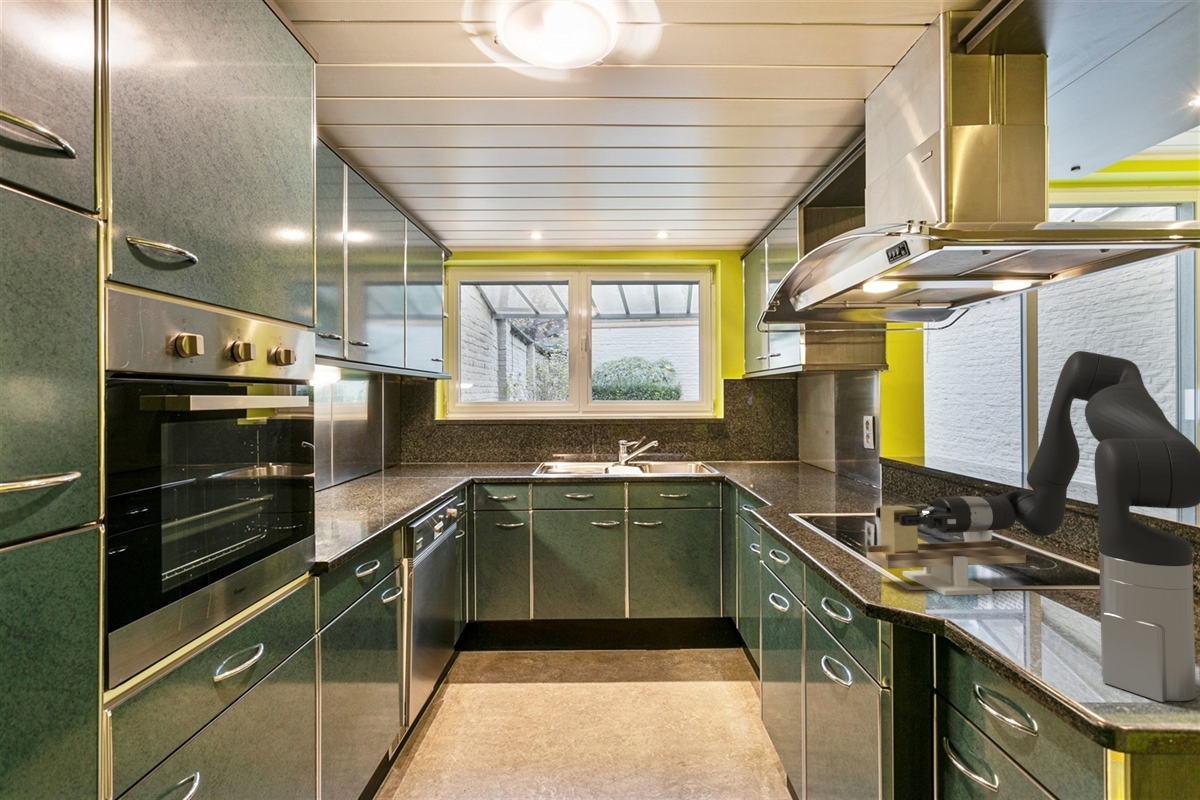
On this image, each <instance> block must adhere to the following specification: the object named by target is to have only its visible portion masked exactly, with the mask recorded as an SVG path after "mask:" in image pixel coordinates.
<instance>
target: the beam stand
mask: <svg viewBox="0 0 1200 800" xmlns="http://www.w3.org/2000/svg"><path fill="white" fill-rule="evenodd" d="M922 568H923V569H922V570H918V569H917V570H902V576H903V577H905V578H907V579H909V580H911V581H913V582H916V583H917V584H920V585H921V586H923V587H926V588H928V589H930V590H933V591H934V592H936V593H939V594H940V595H943V596H946V597H947V596H949V597H950V596H972V595H974V596H975V595H976V596H977V595H992V594H993V588H991V587H989V586H986V585H984V584H982V583H979V582H976V581H974V580H972V579H969V565H968V557H965V556H953V566H940V567H922Z"/></svg>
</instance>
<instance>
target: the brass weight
mask: <svg viewBox="0 0 1200 800" xmlns="http://www.w3.org/2000/svg"><path fill="white" fill-rule="evenodd" d="M879 507H880V517H881V518H880V545H881V553H883V554H900V553H918V544H919V540H918V537H919V536H918V526H902V525H900V524H899V516H900V515H902V514H917V509H914V508H911V507H907V506H903V505H895V506H890V505H880V506H879Z"/></svg>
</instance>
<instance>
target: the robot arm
mask: <svg viewBox="0 0 1200 800" xmlns="http://www.w3.org/2000/svg"><path fill="white" fill-rule="evenodd" d="M1064 362H1065V363H1064V365H1063V366H1062V369H1061V372H1060V374H1059V376H1058V380H1057V383H1056V386H1055V390H1054V393H1053V396H1052V400H1051V404H1050V407H1049V411H1048V414H1047V417H1046V422H1045V427H1044V430H1043V432H1042V433H1043V434H1042V437H1041V441H1040V444H1039V447H1038V450H1037V451H1036V454H1035V455H1034V458H1033V461H1032V463H1031V465H1030V468H1029V470H1028V472H1027V476H1026V482H1027V484H1028V485H1029V487H1031V489H1032V490H1029V489H1015V490H1012V491H1008V492H1006V493H1005V492H1004V493H1002V494H999V495H996V496H973V497H970V496H971V495H970V496H969V495H968V496H938V497H936V498H934V499H933V500H932V501H931V502H930V505H929V506H928V504H921V503H919V504H918V505H917V504H916V503H912V504H911V503H910V504H909V503H907V504H905V503H904V504H903V503H901V504H898V503H897V504H894V503H891V504H889V506H895V505H903V506H907V507H911V508H914V509H917V514H902V515H900V516H899V524H900V525H902V526H917V527H921V528H928V529H930V530H932V529H936V530H937V531H938V532H940V533H943V534H952V533H953V534H955V533H956V534H957V533H963V532H978V531H985V530H993V531H1004V530H1008V529H1010V528H1012V526H1014V524H1015V523H1016V522H1017V523H1018V524H1019V525H1021V526H1022V527H1023V528H1024V529H1025V530H1027V531H1028V532H1029V533H1030V534H1033V535H1034V536H1036V537H1037V536H1038V537H1047V536H1050V535H1052V534H1054V533H1056V532H1057V531H1058V530H1059V529H1060V527H1061V526H1062V524H1063V522H1064V519H1065V515H1066V503H1067V493H1068V487H1069V485H1070V483H1071V481H1072V479H1073V478H1074V477H1073V476H1074V474H1075V472H1076V470H1077V468H1078V466H1079V463H1080V447H1079V443H1078V440H1077V437H1076V435H1075V431H1074V428H1073V425H1072V419H1071V408H1072V405H1073V404H1072V403H1073V402H1074V400H1075V399H1076V400H1081V401H1086V402H1087V403H1086V405H1085V409H1084V417H1085V421H1086V423H1087V426H1088V428H1089V431H1090V433H1091V435H1092V436H1093V437H1094V439H1095V440H1096V441H1097V442H1098V445H1097V446H1096V448H1095V451H1094V452H1095V453H1094V465H1093V466H1094V476H1095V477H1094V478H1095V488H1096V495H1097V496H1096V498H1097V499H1096V500H1097V510H1098V547H1099V548H1098V549H1099V553H1098V554H1099V555H1098V556H1099V559H1098V561H1099V596H1100V598H1099V603H1100V605H1099V606H1100V610H1099V611H1100V647H1101V650H1100V652H1101V675H1102V681H1103V682H1102V683H1104V684H1108V685H1110V686H1114V687H1115V688H1119V689H1122V690H1125V691H1128V692H1131V693H1133V694H1136V695H1139V696H1143V697H1146V698H1148V699H1152V700H1154V701H1158V702H1160V703H1164V702H1166V701H1174V702H1187V701H1191V700H1194V699H1196V695H1197V685H1196V684H1197V683H1196V677H1197V676H1196V651H1195V650H1196V649H1195V647H1196V646H1195V619H1194V618H1195V617H1194V615H1195V614H1194V613H1195V612H1194V609H1195V608H1194V574H1193V573H1194V571H1193V569H1194V568H1193V566H1194V564H1193V561H1194V559H1193V547H1192V545H1191V543H1190V541H1188V540H1187V539H1186V538H1184V537H1182V536H1179V535H1175V534H1174V533H1169V532H1166V531H1164V530H1160V529H1158V528H1155V527H1152V526H1150V525H1148V524H1145V523H1144V522H1143V521H1140V520H1138V519H1136V518H1135V517H1134V516H1133V515H1132V513H1131V511H1130V507H1139V508H1154V509H1155V508H1158V509H1172V510H1173V509H1175V510H1176V509H1177V510H1178V509H1189V508H1193V507H1196V506H1199V505H1200V449H1198V448H1197V446H1196V445H1195V443H1193V441H1191V439H1189V438H1188V437H1187V436H1185V435H1184V434H1183V432H1181V431H1180V430H1179V429H1178V428H1176V427H1174V426H1173V425H1172V423H1171V422H1170V421H1169V420H1168V418H1167V417H1166V415H1165V413H1164V412H1163V410H1162V408H1161V407H1160V406H1159V404H1158V403H1157V401H1156V400H1155V399H1154V398H1153V397H1152V396H1151V394H1150V393H1149V391H1148V390H1147V388H1146V387H1145V386H1146V385H1145V384H1144V381H1143V377H1142V374H1141V371H1140V368H1139V367H1138V366H1137V364H1136V363H1135V362H1133V361H1131V360H1129V359H1125V358H1122V357H1117V356H1111V355H1107V354H1102V353H1101V354H1100V353H1097V352H1091V351H1083V350H1077V351H1075V352H1073V353H1071V354H1070V356H1069V357H1068V358H1067V360H1066V361H1064ZM875 517H876V518H879V519H881V517H880V506H877V507H876V508H875Z"/></svg>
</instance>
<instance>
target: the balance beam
mask: <svg viewBox="0 0 1200 800" xmlns="http://www.w3.org/2000/svg"><path fill="white" fill-rule="evenodd" d="M865 549H866V560H868V561H871V562H873V563H875V564H877V565H879V566H880V567H883V568H886V569H887V570H893V569H894V570H895V569H915V568H923V567H940V566H953V556H965V557H968V566H978V565H979V566H980V565H982V566H983V565H1003V564H1004V565H1005V564H1021V563H1023V564H1025V563H1027V559H1026V557H1027V554H1026V553H1027V552H1026V548H1025V547H1018V548H1017V547H1014V548H1005V547H1003V546H1000V541H999V540H996V539H993V540H992V539H991V540H990V541H967V542H965V541H950V542H949V541H943V542H926V543H925V542H924V543H923V542H922V543H918V553H900V554H883V553H881V544H879V545H878V544H876V545H866V547H865Z"/></svg>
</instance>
